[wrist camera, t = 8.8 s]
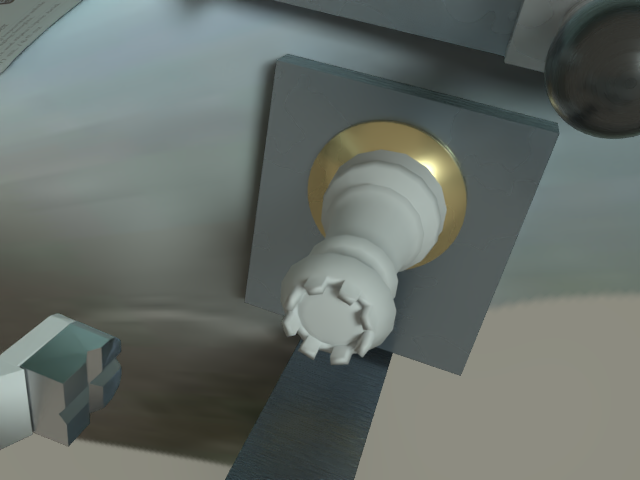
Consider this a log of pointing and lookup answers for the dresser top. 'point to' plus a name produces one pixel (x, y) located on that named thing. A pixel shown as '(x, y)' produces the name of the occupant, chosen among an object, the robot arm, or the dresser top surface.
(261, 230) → the press
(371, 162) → the rook chess piece
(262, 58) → the dresser top surface
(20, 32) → the skincare box
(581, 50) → the lever
